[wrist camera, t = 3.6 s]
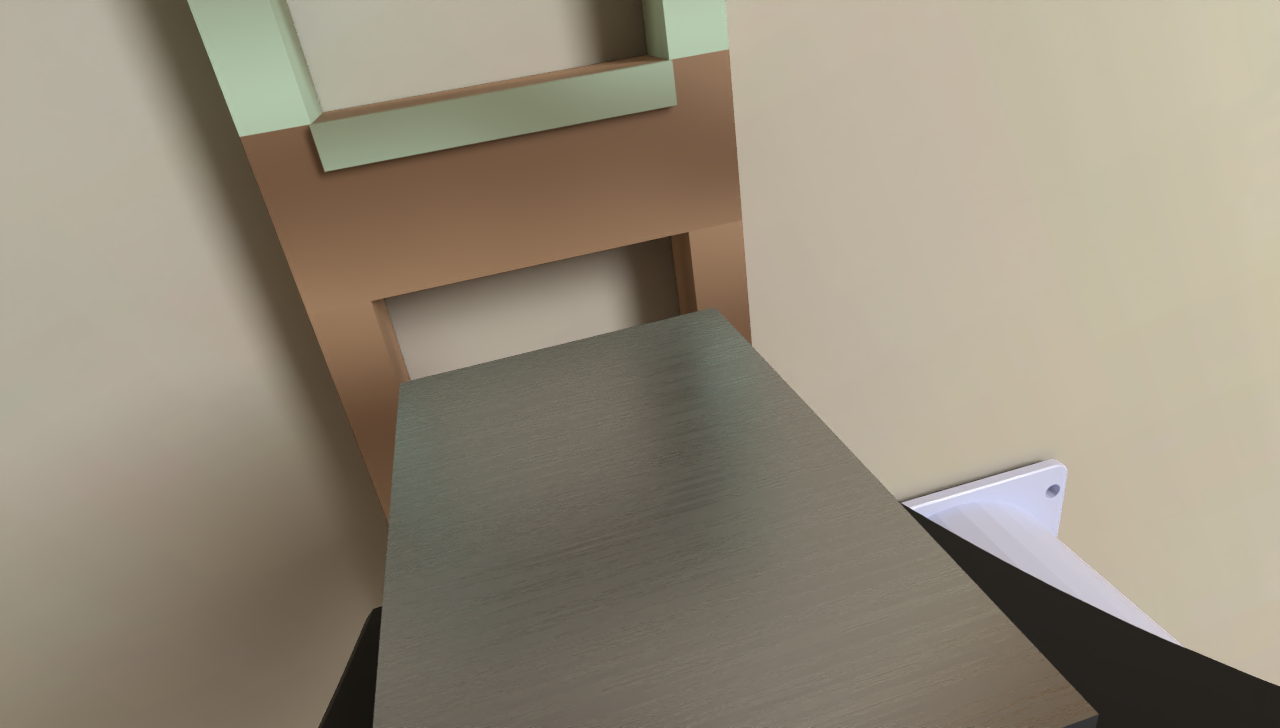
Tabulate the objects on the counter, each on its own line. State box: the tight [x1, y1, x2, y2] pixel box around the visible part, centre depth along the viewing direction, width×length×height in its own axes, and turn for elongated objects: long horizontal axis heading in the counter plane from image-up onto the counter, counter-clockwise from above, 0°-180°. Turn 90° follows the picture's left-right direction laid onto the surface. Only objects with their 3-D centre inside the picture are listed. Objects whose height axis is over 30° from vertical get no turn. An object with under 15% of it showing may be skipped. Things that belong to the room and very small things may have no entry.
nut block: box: [373, 307, 1099, 728], centre depth 8 cm, size 4×4×7 cm
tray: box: [187, 0, 752, 524], centre depth 15 cm, size 20×9×2 cm, turn 8°
